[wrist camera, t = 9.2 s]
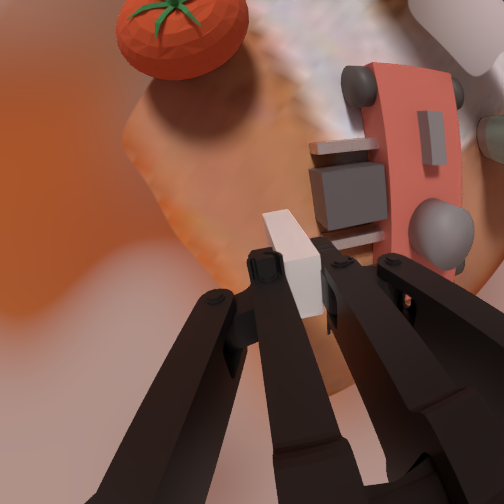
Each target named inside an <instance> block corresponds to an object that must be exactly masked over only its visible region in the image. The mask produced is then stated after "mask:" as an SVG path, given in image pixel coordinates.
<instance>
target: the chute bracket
mask: <svg viewBox="0 0 504 504" xmlns="http://www.w3.org/2000/svg"><path fill="white" fill-rule="evenodd" d="M309 148H310V154H316V155H322V154H330V153H339V152H348V151H358V150H369V149H379V145H378V138H355V139H343V140H333V141H324V142H315V143H309ZM320 235H321V236H322V237H325V238H327V239H329V240H330V241H331V242H332V243H333V245H334V246H335V247H336V248H337V249H338V250H341V249H346V248H351V247H355V246H360V245H364V244H369V243H373V242H378V241H382V240H384V230H382V229H381V228H379V227H377V226H376V225H374V224H373V223H372V224H367V225H362V226H357V227H352V228H347V229H342V230H337V231H331V232H326V233H321V234H320Z"/></svg>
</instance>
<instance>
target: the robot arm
mask: <svg viewBox="0 0 504 504" xmlns="http://www.w3.org/2000/svg"><path fill="white" fill-rule="evenodd" d="M503 1H504V0H503ZM263 220H264V226H265V231H266V237H267V243H268V247H267V248H262V249H257V250H252V251H251V252H250V254H249V255H248V259H247V267H248V272H249V277H250V281H251V284H250V286H249V287H248V288H247V289H246V290H244V291H243V292H241V293H238V294H236V295H234V294H233V293H232V291H230V290H228V289H214V290H210V291H208V292H206V293H205V294H203V295H202V296H201V297H200V298H199V300H198V301H197V303H196V305H195V306H194V308H193V310H192V312H191V314H190V315H189V317H188V319H187V321H186V322H185V324H184V326H183V328H182V330H181V332H180V333H179V335H178V337H177V339H176V341H175V343H174V344H173V346H172V348H171V350H170V351H169V353H168V355H167V357H166V359H165V361H164V362H163V364H162V366H161V368H160V370H159V372H158V373H157V375H156V377H155V379H154V381H153V383H152V385H151V387H150V388H149V390H148V392H147V394H146V396H145V398H144V400H143V402H142V403H141V405H140V407H139V409H138V411H137V413H136V415H135V417H134V419H133V421H132V423H131V425H130V426H129V428H128V430H127V432H126V434H125V436H124V438H123V440H122V442H121V444H120V446H119V448H118V450H117V452H116V454H115V456H114V458H113V460H112V462H111V464H110V466H109V468H108V470H107V472H106V474H105V476H104V478H103V480H102V482H101V484H100V486H99V488H98V490H97V492H96V493H95V494H94V495H93V496H92V497H91V498H90V499H89V500H88V501H87V502H86V503H85V504H205V501H206V498H207V494H208V491H209V488H210V484H211V481H212V477H213V474H214V471H215V467H216V464H217V461H218V457H219V454H220V450H221V446H222V443H223V439H224V436H225V432H226V429H227V425H228V422H229V418H230V414H231V411H232V407H233V404H234V400H235V396H236V392H237V389H238V385H239V381H240V378H241V374H242V370H243V366H244V363H245V359H246V355H247V346H249V345H251V344H254V343H256V342H258V341H259V349H260V356H261V363H262V371H263V378H264V385H265V393H266V399H267V408H268V414H269V421H270V429H271V437H272V443H273V466H274V474H275V482H276V489H277V496H278V503H279V504H504V313H502V312H501V311H499V310H498V309H496V308H494V307H493V306H491V305H490V304H488V303H486V302H485V301H483V300H482V299H480V298H478V297H477V296H475V295H473V294H472V293H470V292H468V291H467V290H465V289H463V288H462V287H460V286H458V285H457V284H455V283H453V282H451V281H450V280H448V279H446V278H444V277H443V276H441V275H439V274H437V273H436V272H434V271H432V270H430V269H428V268H427V267H425V266H423V265H421V264H419V263H417V262H415V261H414V260H412V259H410V258H408V257H406V256H404V255H401V254H397V253H387V254H383V255H381V256H379V257H378V259H377V266H361V265H360V263H359V262H358V261H357V260H356V259H354V258H353V257H349V256H343V255H342V254H341V253H340V252H339V250H338V249H337V248H336V247H335V246H334V245H333V243H332V242H331V241H330V240H329V239H327V238H325V237H322V236H321V237H316V238H310V239H309V238H308V236H307V235H306V234H305V232H304V231H303V229H302V228H301V227H300V225H299V224H298V222H297V221H296V220H295V218H294V217H293V215H292V214H291V213H290V211H289V210H288V209H285V210H279V211H274V212H268V213H263ZM406 295H408V296H409V297H411V305H410V306H408V305H406V304H405V299H406ZM323 303H324V304H323ZM324 305H325V307H326V309H327V332H328V335H329V334H330V330H332V332H333V334H334V336H335V338H336V340H337V343H338V345H339V347H340V349H341V352H342V354H343V356H344V358H345V361H346V363H347V365H348V367H349V370H350V372H351V374H352V376H353V379H354V381H355V383H356V386H357V388H358V390H359V393H360V395H361V397H362V400H363V402H364V404H365V407H366V409H367V411H368V414H369V417H370V419H371V421H372V424H373V426H374V429H375V431H376V434H377V436H378V439H379V441H380V444H381V446H382V449H383V451H384V454H385V457H386V472H387V477H388V481H389V483H383V484H376V485H368V486H364V485H363V482H362V479H361V475H360V473H359V469H358V466H357V463H356V460H355V457H354V454H353V451H352V449H351V446H350V444H349V442H348V440H347V439H346V438H344V437H342V435H341V433H340V431H339V427H338V424H337V421H336V418H335V415H334V412H333V409H332V406H331V403H330V401H329V397H328V394H327V391H326V388H325V385H324V382H323V379H322V376H321V373H320V371H319V368H318V365H317V362H316V359H315V356H314V353H313V350H312V347H311V345H310V342H309V339H308V336H307V333H306V330H305V328H304V325H303V322H302V318H307V317H312V316H316V315H320V314H324Z"/></svg>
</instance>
